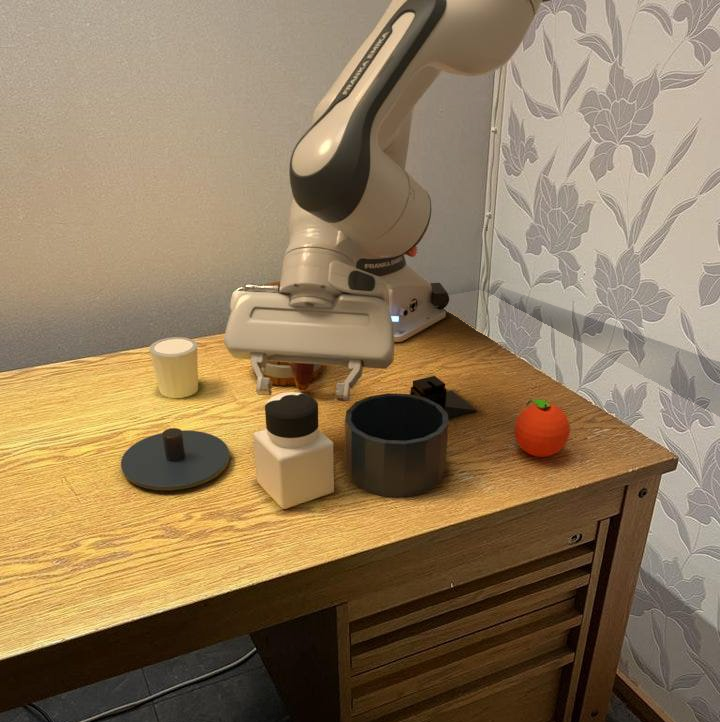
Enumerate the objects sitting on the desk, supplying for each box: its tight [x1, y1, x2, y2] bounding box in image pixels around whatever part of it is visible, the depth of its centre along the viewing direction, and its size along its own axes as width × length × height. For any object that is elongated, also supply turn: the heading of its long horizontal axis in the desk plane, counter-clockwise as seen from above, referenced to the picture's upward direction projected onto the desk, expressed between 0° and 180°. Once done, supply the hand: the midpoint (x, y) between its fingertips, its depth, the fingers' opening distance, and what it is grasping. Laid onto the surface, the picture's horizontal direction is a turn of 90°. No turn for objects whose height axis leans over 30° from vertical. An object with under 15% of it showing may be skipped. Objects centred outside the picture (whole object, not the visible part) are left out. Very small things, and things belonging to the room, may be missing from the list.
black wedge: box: [409, 375, 478, 421], centre depth 112 cm, size 12×7×5 cm, turn 117°
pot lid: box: [120, 427, 230, 491], centre depth 100 cm, size 13×13×5 cm
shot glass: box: [148, 336, 199, 399], centre depth 117 cm, size 7×7×7 cm
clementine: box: [514, 398, 571, 458], centre depth 102 cm, size 8×7×7 cm
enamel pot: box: [344, 392, 450, 498], centre depth 98 cm, size 12×12×8 cm
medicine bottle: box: [252, 391, 335, 510], centre depth 94 cm, size 7×7×12 cm
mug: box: [253, 281, 322, 391], centre depth 118 cm, size 11×16×15 cm, turn 20°
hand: (302, 397), depth 93 cm, fingers open, 8 cm apart
